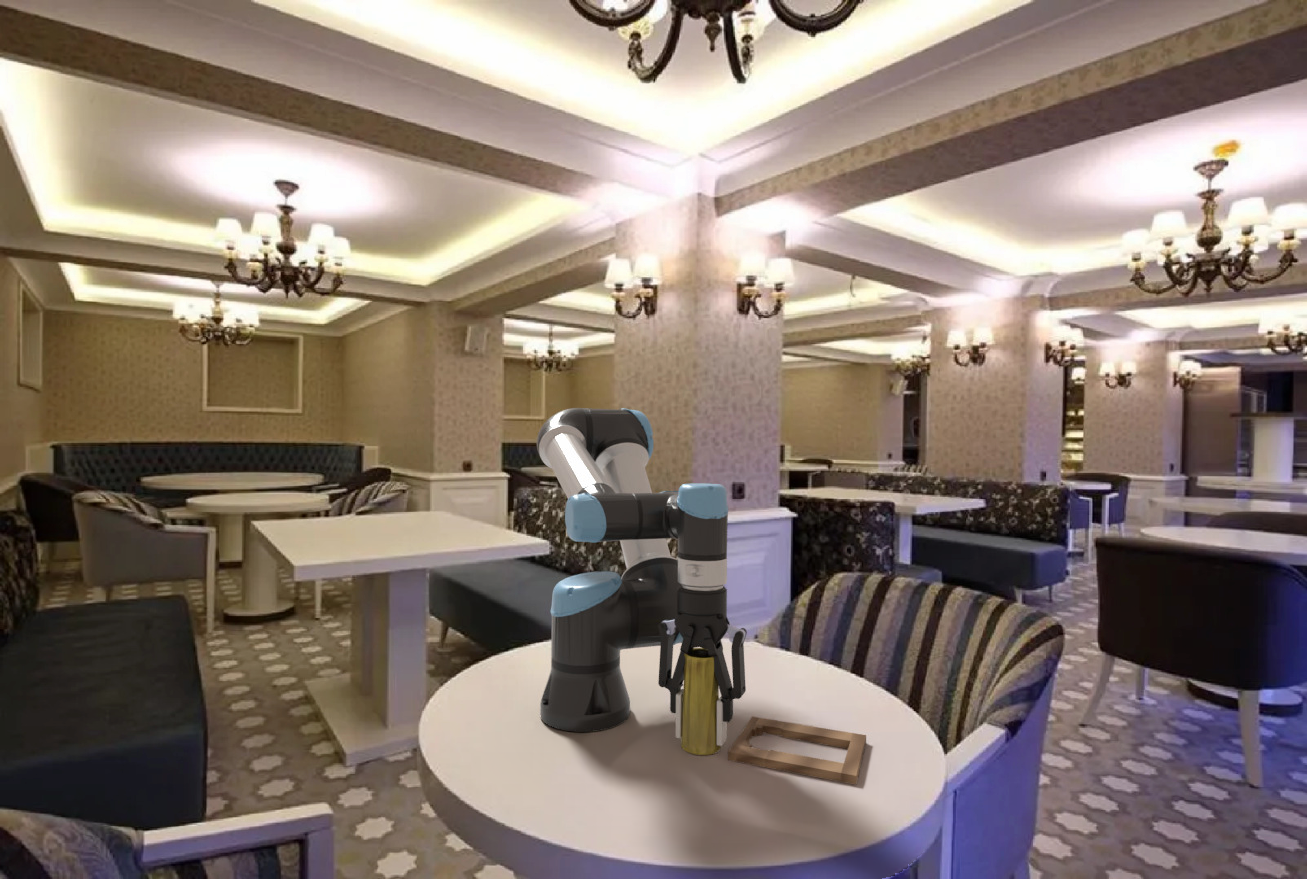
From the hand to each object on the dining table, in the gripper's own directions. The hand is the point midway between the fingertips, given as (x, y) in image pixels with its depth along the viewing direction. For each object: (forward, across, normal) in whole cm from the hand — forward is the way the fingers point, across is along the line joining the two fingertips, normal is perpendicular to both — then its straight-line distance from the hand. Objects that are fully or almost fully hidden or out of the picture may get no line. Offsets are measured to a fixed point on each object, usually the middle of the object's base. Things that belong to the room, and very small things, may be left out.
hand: (701, 737), depth 103 cm
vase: (+2, 0, 0) cm, 2 cm away
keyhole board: (+1, +14, +4) cm, 15 cm away
